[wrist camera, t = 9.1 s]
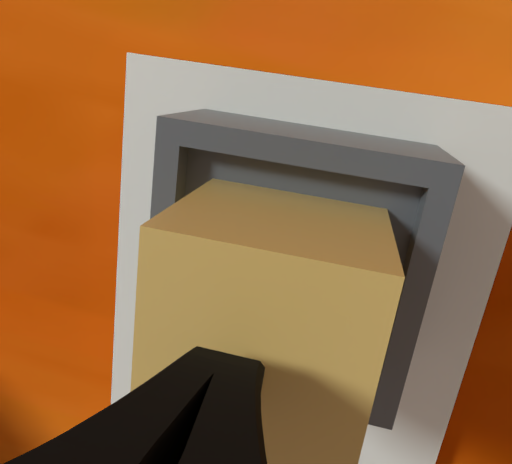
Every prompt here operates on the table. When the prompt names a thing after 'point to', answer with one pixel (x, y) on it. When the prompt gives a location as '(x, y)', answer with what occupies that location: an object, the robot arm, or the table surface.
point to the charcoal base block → (326, 186)
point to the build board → (361, 121)
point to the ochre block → (275, 306)
